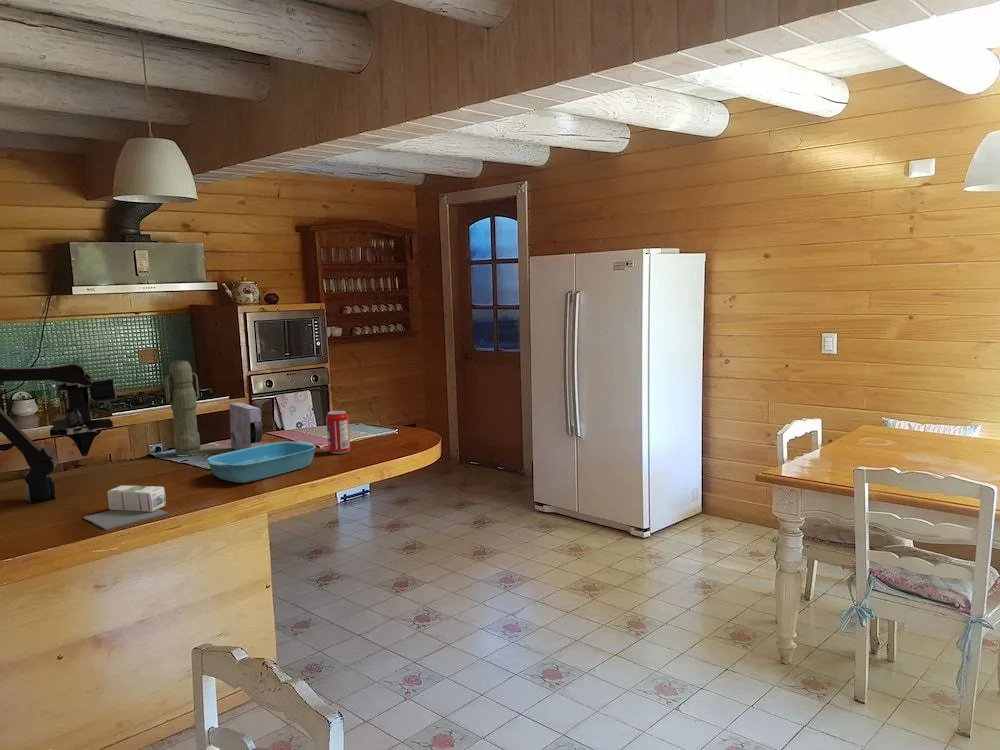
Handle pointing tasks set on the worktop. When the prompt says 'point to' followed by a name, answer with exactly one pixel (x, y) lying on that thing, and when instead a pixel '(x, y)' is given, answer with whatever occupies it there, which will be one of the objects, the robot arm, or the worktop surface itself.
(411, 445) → the worktop surface
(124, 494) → the syrup box
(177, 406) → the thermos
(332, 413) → the soda can
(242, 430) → the cake pan box
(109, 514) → the mat
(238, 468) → the casserole dish
